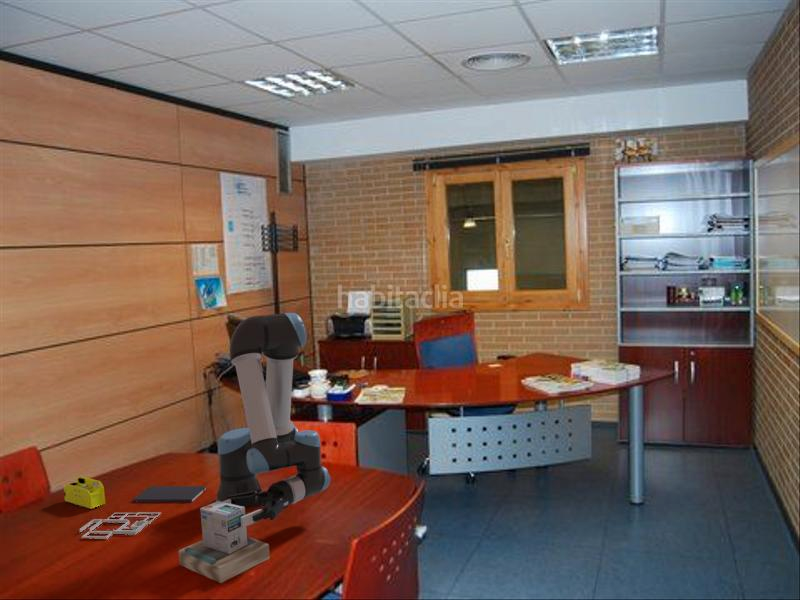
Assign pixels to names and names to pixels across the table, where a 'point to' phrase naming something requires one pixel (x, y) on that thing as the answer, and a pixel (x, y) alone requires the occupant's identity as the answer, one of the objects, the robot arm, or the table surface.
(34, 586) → the table surface
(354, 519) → the table surface
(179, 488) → the notebook
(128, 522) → the floor plan model
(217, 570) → the dock
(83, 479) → the yellow toy chassis
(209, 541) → the light bulb box
